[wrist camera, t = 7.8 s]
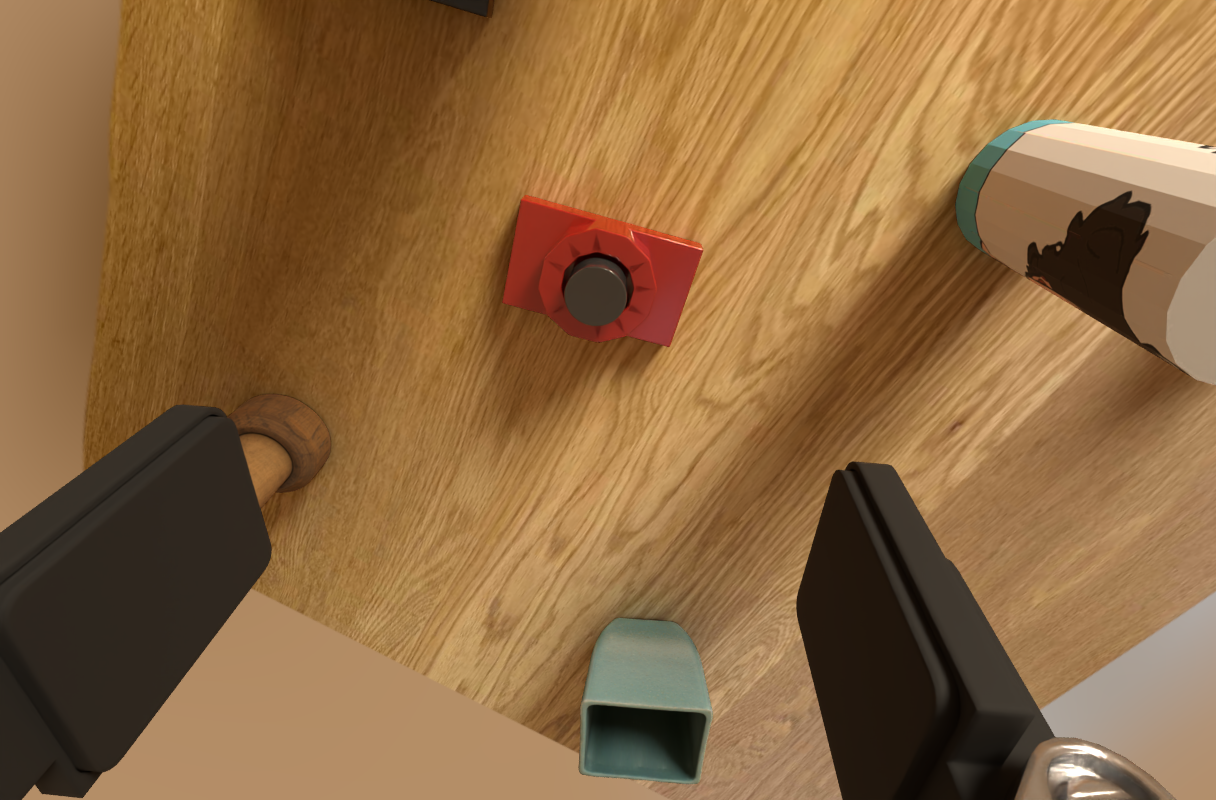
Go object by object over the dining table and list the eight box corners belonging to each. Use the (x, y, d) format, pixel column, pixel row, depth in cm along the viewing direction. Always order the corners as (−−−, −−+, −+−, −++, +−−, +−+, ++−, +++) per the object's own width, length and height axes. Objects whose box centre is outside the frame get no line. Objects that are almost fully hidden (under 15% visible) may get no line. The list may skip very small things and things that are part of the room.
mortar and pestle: (265, 374, 39) (16, 588, 24) (350, 435, 41) (172, 668, 26) (218, 434, 42) (-33, 662, 26) (301, 488, 44) (112, 730, 28)
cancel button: (561, 305, 33) (558, 317, 32) (575, 249, 32) (571, 259, 30) (618, 320, 33) (617, 333, 32) (634, 265, 32) (634, 276, 30)
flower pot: (590, 596, 48) (579, 702, 40) (703, 603, 48) (714, 712, 40) (588, 668, 52) (578, 776, 44) (691, 676, 52) (699, 786, 44)
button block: (505, 296, 36) (494, 316, 33) (525, 193, 33) (514, 205, 30) (668, 340, 37) (670, 362, 34) (702, 242, 34) (706, 258, 31)
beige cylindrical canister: (952, 266, 34) (1145, 403, 21) (958, 136, 30) (1192, 202, 17) (1086, 241, 32) (1380, 368, 19) (1107, 104, 29) (1476, 147, 16)
